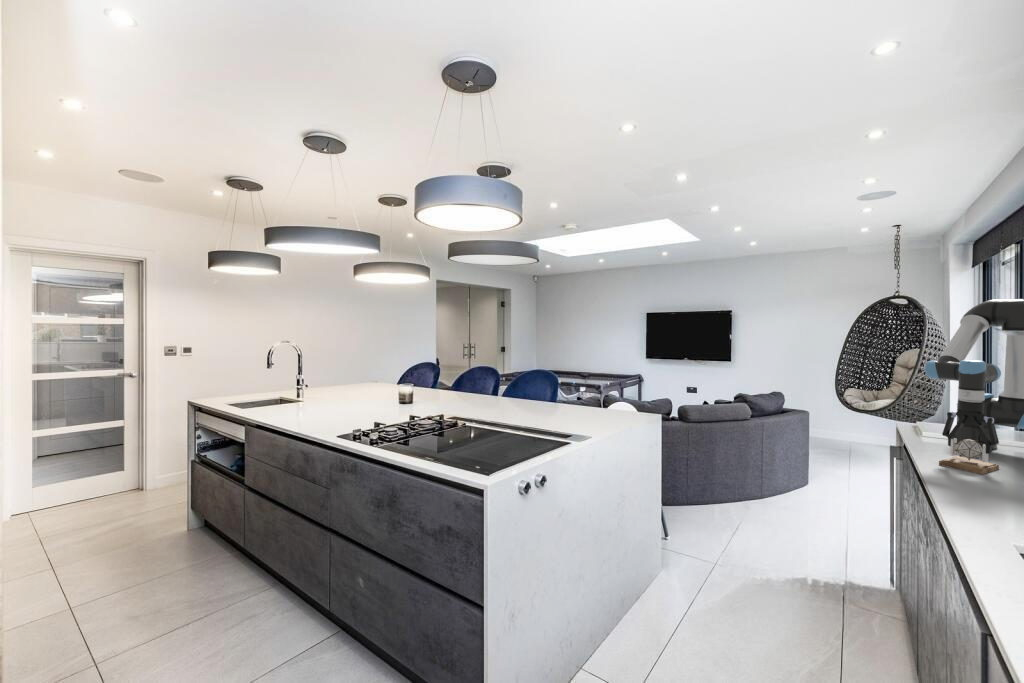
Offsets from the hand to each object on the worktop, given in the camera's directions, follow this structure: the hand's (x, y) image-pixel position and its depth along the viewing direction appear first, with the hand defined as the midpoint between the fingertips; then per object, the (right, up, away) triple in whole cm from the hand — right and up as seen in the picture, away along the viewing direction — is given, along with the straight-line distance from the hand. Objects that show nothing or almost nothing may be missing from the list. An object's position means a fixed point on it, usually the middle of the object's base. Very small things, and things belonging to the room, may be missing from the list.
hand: (968, 458), depth 191 cm
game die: (0, 0, 0) cm, 0 cm away
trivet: (0, -3, 0) cm, 3 cm away
